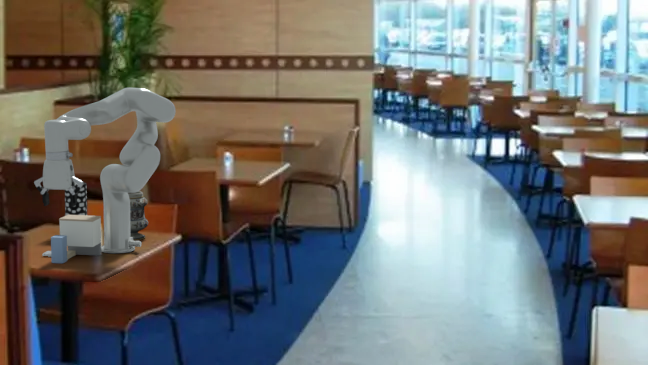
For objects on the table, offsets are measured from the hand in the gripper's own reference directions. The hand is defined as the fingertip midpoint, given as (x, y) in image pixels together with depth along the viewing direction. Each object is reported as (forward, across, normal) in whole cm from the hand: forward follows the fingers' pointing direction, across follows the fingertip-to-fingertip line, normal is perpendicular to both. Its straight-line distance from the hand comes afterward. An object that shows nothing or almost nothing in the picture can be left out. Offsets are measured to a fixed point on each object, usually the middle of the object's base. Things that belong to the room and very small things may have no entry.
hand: (60, 205), depth 336 cm
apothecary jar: (+22, -10, -44) cm, 50 cm away
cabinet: (+20, -3, -8) cm, 22 cm away
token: (+20, +8, -8) cm, 23 cm away
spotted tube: (+21, +14, -47) cm, 53 cm away
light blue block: (+20, +1, -3) cm, 20 cm away
